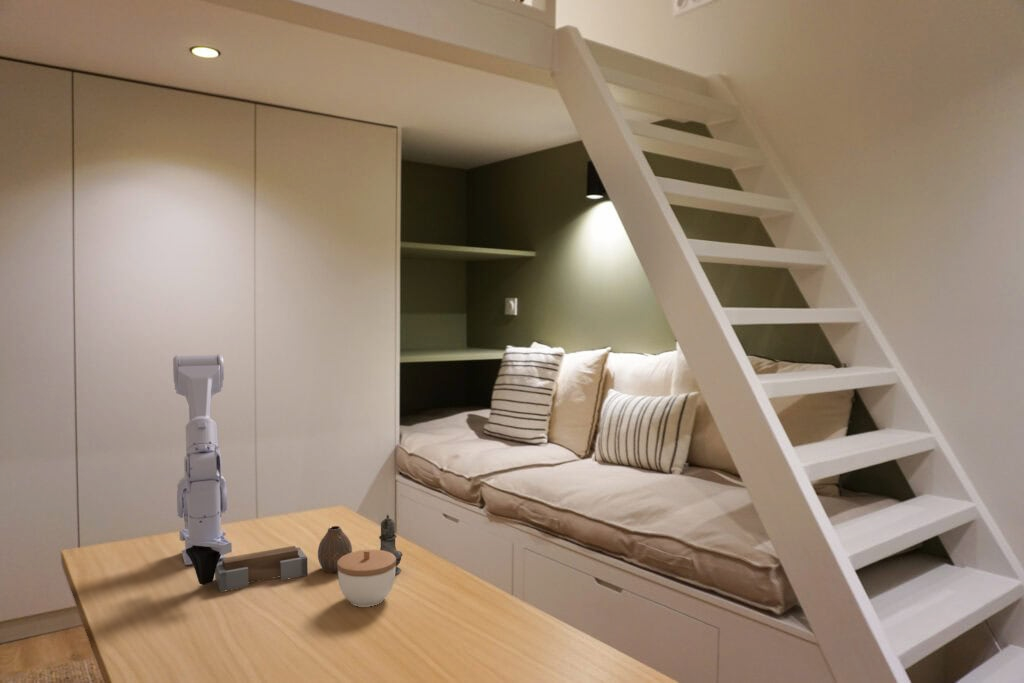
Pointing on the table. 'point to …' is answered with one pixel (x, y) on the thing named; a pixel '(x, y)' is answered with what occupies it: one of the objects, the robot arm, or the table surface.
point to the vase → (333, 548)
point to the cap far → (294, 566)
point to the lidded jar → (366, 576)
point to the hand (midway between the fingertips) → (206, 582)
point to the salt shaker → (390, 540)
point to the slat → (261, 562)
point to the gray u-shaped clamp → (231, 577)
